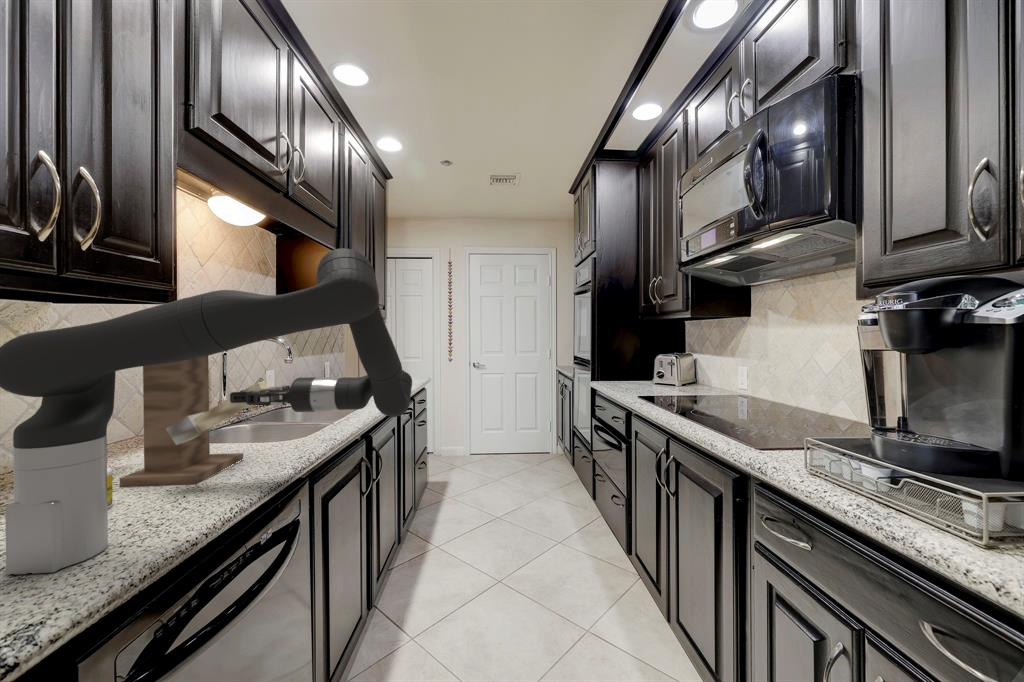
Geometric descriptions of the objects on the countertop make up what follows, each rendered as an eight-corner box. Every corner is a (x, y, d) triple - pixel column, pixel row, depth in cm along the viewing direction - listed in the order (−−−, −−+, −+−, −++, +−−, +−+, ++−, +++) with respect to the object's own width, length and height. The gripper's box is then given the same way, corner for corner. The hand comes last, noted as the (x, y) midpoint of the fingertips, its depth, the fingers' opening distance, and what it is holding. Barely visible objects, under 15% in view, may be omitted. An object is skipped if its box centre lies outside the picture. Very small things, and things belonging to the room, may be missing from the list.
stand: (196, 484, 90) (194, 341, 90) (119, 487, 89) (117, 342, 89) (243, 460, 108) (241, 341, 108) (180, 462, 107) (178, 342, 107)
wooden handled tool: (274, 392, 90) (264, 376, 90) (262, 394, 85) (252, 378, 85) (193, 439, 89) (183, 423, 89) (176, 445, 84) (165, 428, 84)
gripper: (305, 417, 82) (215, 419, 80) (330, 406, 96) (254, 408, 94) (304, 380, 82) (214, 382, 80) (330, 374, 96) (253, 376, 94)
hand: (236, 396), depth 87 cm, fingers closed on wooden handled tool, 3 cm apart
